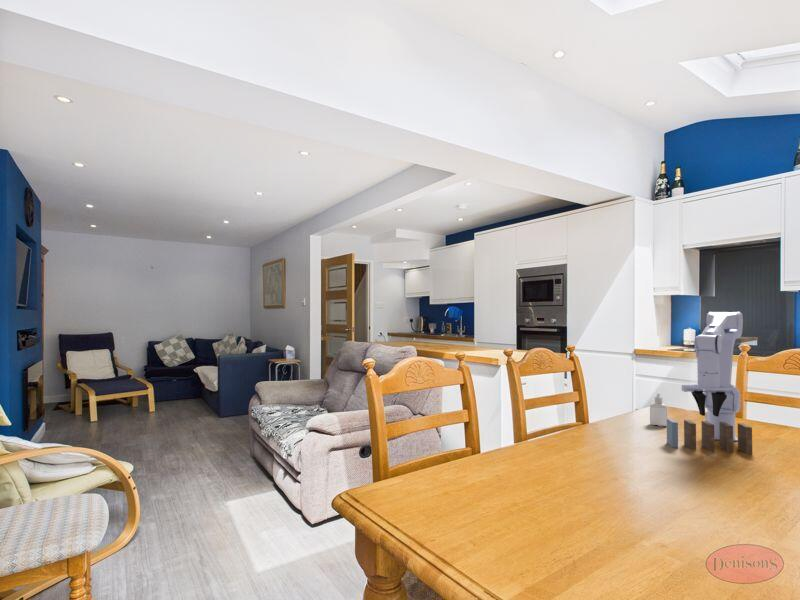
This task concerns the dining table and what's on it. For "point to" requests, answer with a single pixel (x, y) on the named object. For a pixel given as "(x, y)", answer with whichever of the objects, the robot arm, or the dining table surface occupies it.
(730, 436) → the domino
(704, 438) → the domino
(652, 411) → the eye dropper bottle
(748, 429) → the domino
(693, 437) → the domino
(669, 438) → the domino
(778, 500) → the dining table surface
